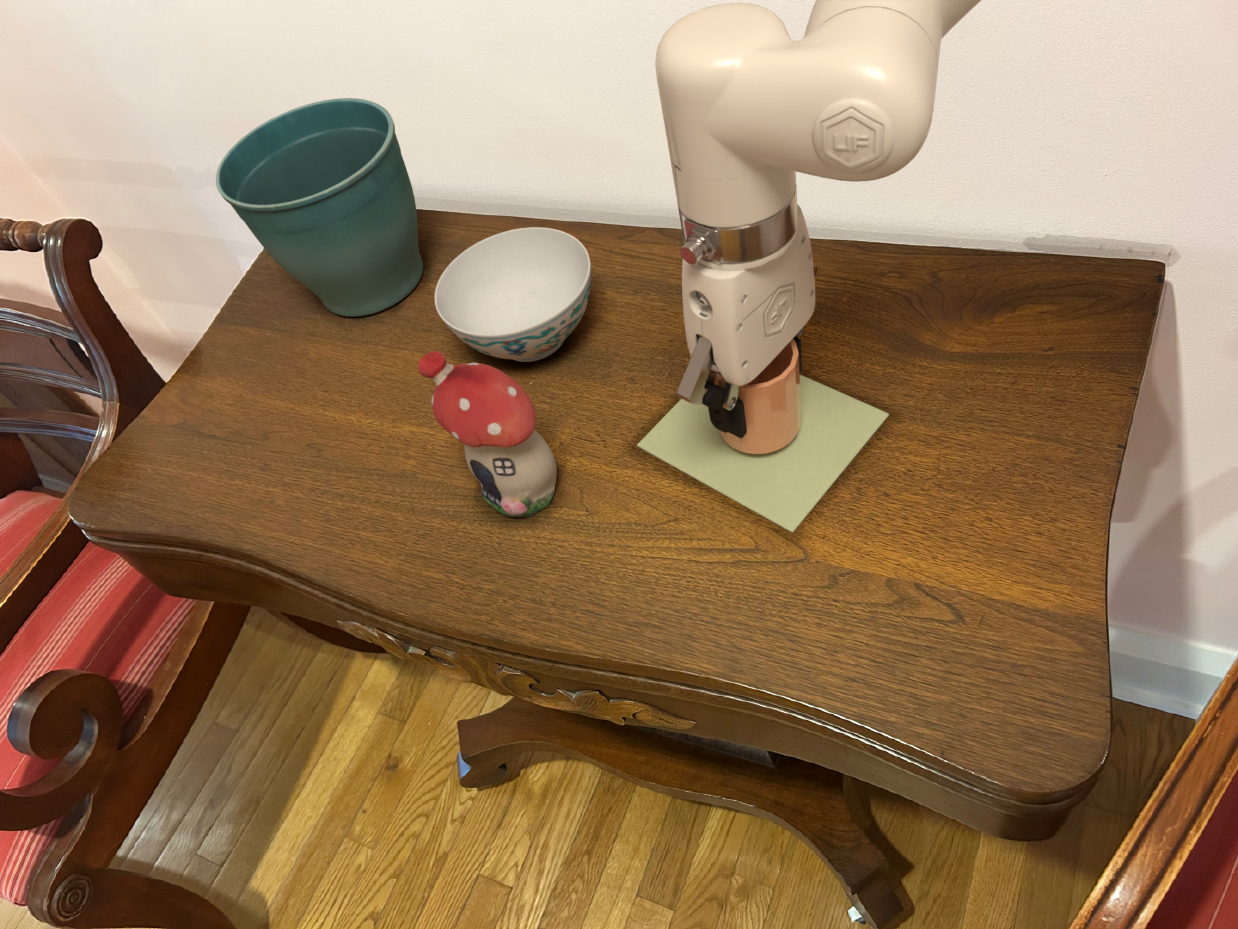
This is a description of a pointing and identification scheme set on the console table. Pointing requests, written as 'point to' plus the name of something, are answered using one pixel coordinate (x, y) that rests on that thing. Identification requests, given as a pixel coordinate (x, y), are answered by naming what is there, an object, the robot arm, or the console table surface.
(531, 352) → the chinaware
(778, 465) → the mat
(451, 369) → the decorative ornament
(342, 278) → the flower pot
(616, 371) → the console table surface
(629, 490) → the console table surface
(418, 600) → the console table surface
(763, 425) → the cup
